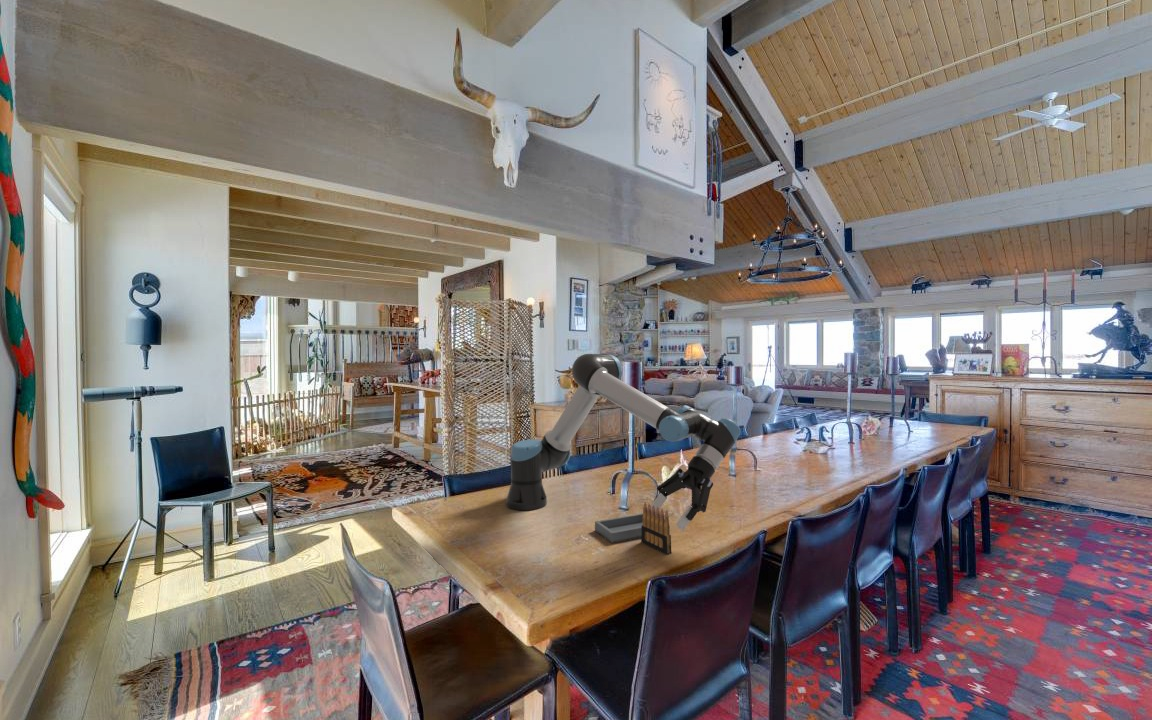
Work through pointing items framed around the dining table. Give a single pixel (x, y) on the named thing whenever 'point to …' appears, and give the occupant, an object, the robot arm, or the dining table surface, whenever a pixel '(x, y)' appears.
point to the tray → (620, 528)
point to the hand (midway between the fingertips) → (664, 520)
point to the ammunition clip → (656, 529)
